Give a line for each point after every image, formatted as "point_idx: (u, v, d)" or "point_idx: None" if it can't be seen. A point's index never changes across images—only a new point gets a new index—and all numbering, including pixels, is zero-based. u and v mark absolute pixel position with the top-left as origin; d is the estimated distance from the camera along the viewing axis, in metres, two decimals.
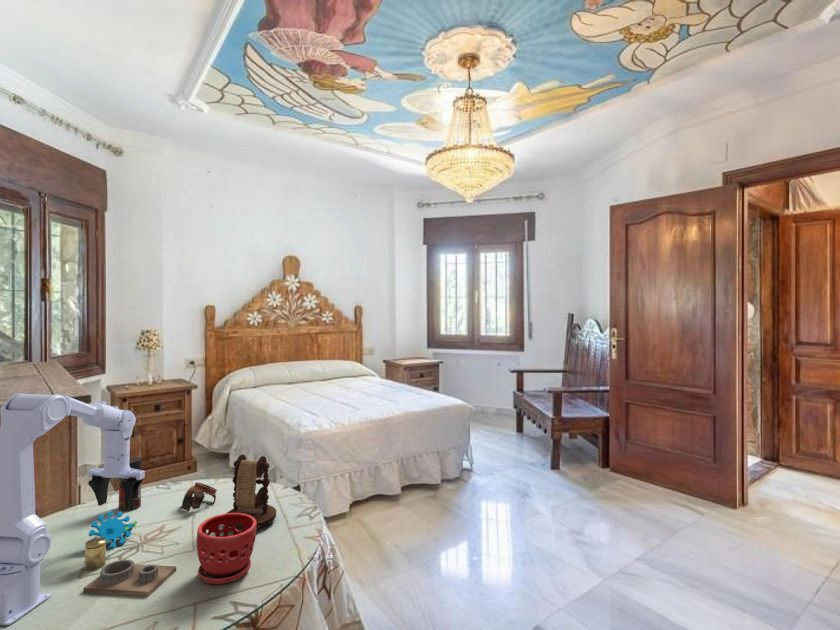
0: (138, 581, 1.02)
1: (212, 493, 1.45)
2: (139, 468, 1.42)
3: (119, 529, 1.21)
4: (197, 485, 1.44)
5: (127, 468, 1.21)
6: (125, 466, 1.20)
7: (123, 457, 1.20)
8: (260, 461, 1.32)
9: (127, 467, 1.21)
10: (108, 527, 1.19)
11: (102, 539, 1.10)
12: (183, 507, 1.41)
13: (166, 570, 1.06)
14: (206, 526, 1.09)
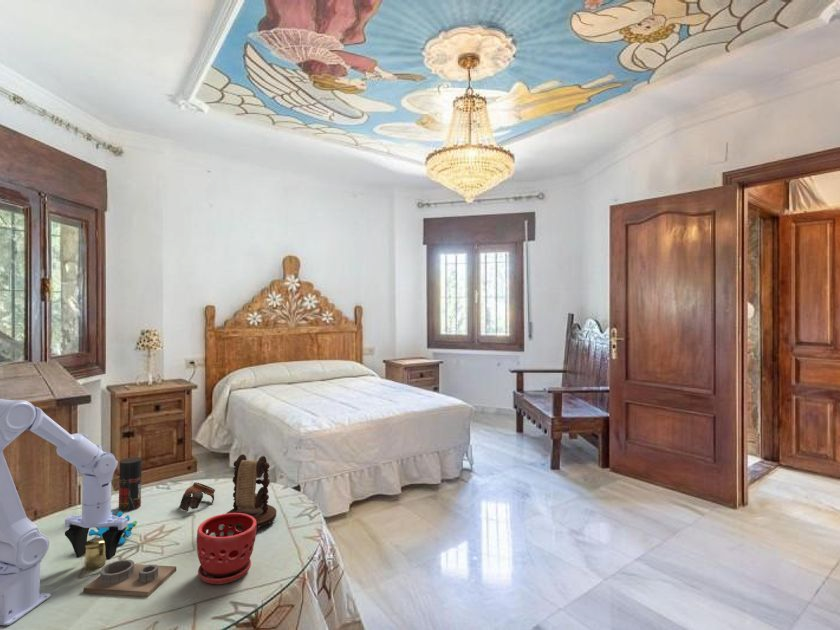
0: (138, 581, 1.02)
1: (210, 493, 1.45)
2: (139, 468, 1.42)
3: None
4: (195, 485, 1.44)
5: (108, 516, 1.09)
6: (106, 514, 1.09)
7: (103, 504, 1.08)
8: (260, 461, 1.32)
9: (108, 515, 1.09)
10: None
11: (102, 539, 1.10)
12: (181, 507, 1.41)
13: (166, 570, 1.06)
14: (206, 526, 1.09)
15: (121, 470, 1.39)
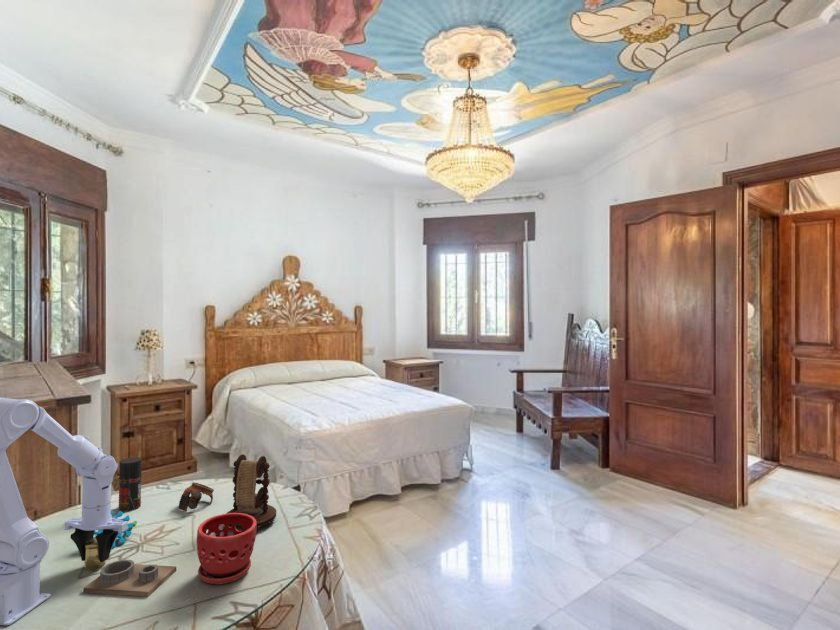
0: (138, 581, 1.02)
1: (209, 493, 1.45)
2: (139, 468, 1.42)
3: None
4: (194, 485, 1.44)
5: (108, 519, 1.09)
6: (106, 516, 1.09)
7: (103, 507, 1.08)
8: (260, 461, 1.32)
9: (108, 518, 1.09)
10: None
11: None
12: (180, 507, 1.41)
13: (166, 570, 1.06)
14: (206, 526, 1.09)
15: (121, 470, 1.39)
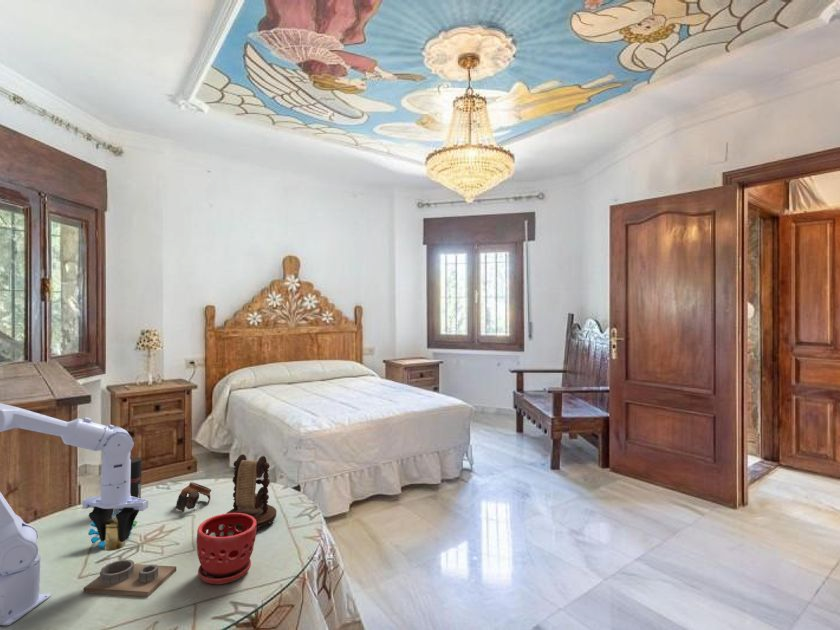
0: (138, 581, 1.02)
1: (207, 493, 1.45)
2: (139, 468, 1.42)
3: None
4: (191, 485, 1.44)
5: (128, 497, 1.05)
6: (126, 494, 1.04)
7: (123, 485, 1.03)
8: (260, 461, 1.32)
9: (128, 496, 1.05)
10: None
11: None
12: (177, 507, 1.41)
13: (166, 570, 1.06)
14: (206, 526, 1.09)
15: None
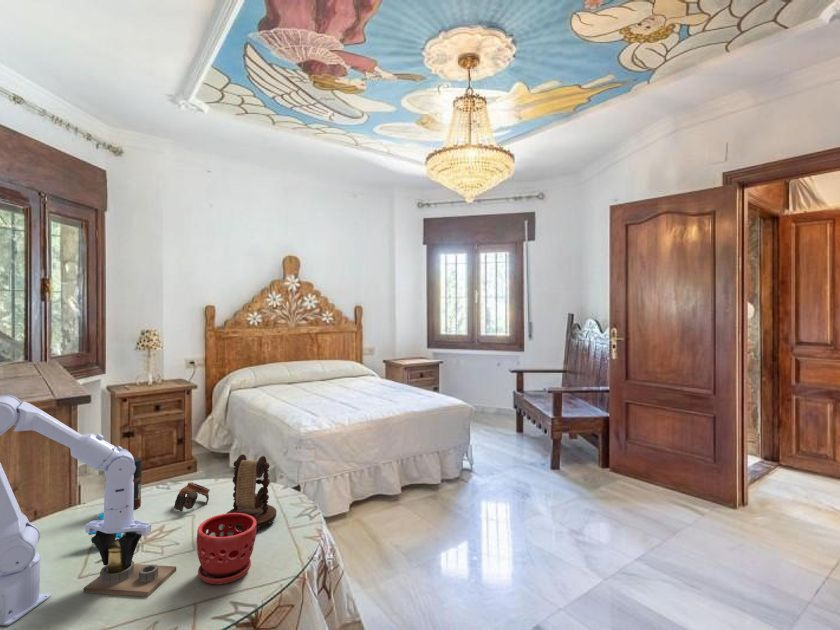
0: (138, 581, 1.02)
1: (205, 493, 1.45)
2: (139, 468, 1.42)
3: None
4: (190, 485, 1.44)
5: (131, 521, 1.04)
6: (129, 518, 1.03)
7: (126, 509, 1.02)
8: (260, 461, 1.32)
9: (131, 520, 1.04)
10: None
11: None
12: (176, 507, 1.41)
13: (166, 570, 1.06)
14: (206, 526, 1.09)
15: None
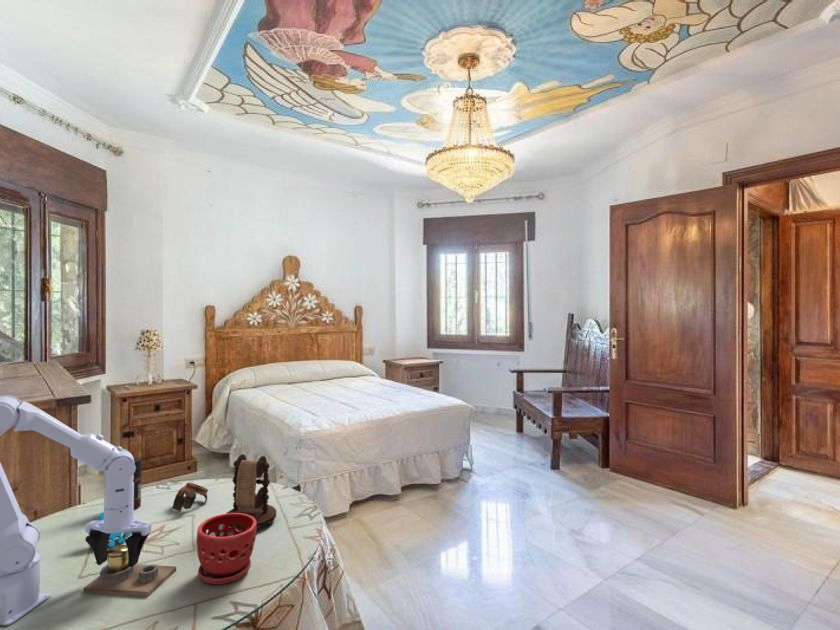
0: (138, 581, 1.02)
1: (204, 493, 1.45)
2: (139, 468, 1.42)
3: None
4: (188, 485, 1.44)
5: (131, 521, 1.04)
6: (129, 518, 1.03)
7: (126, 509, 1.02)
8: (260, 461, 1.32)
9: (131, 520, 1.04)
10: None
11: (125, 547, 1.05)
12: (174, 507, 1.41)
13: (166, 570, 1.06)
14: (206, 526, 1.09)
15: None
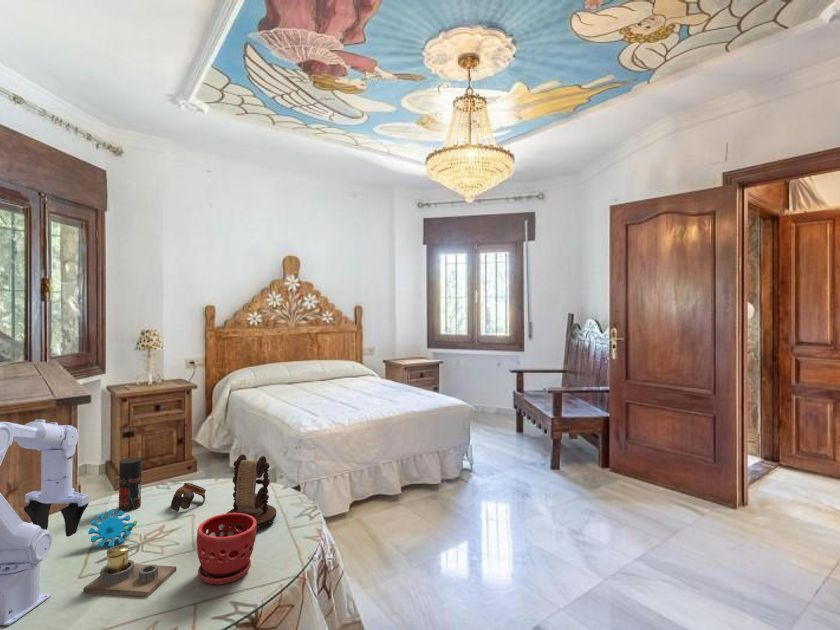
0: (138, 581, 1.02)
1: (201, 493, 1.45)
2: (139, 468, 1.42)
3: (119, 528, 1.21)
4: (186, 485, 1.44)
5: (69, 492, 1.06)
6: (66, 489, 1.05)
7: (63, 480, 1.04)
8: (260, 461, 1.32)
9: (69, 491, 1.06)
10: (108, 526, 1.20)
11: (124, 547, 1.05)
12: (172, 507, 1.41)
13: (166, 570, 1.06)
14: (206, 526, 1.09)
15: (121, 470, 1.39)
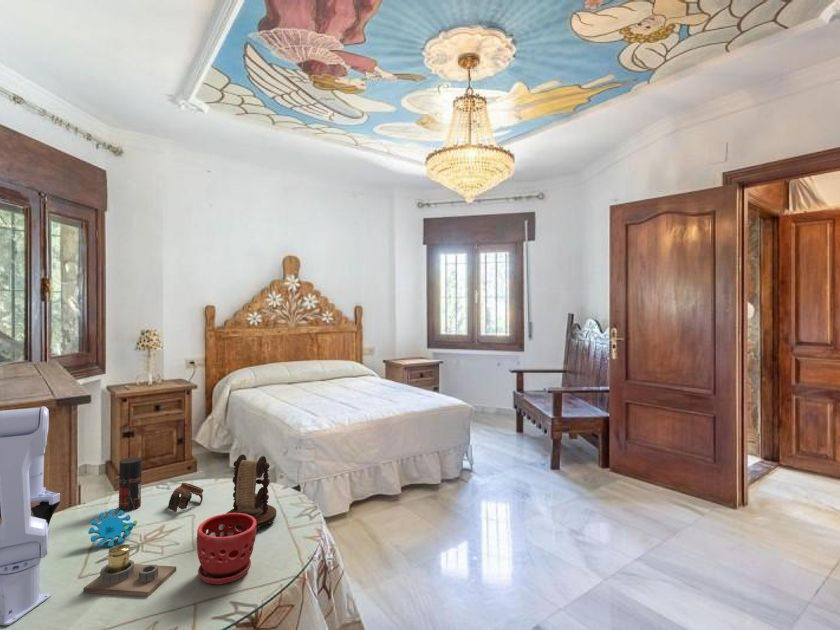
0: (138, 581, 1.02)
1: (199, 493, 1.45)
2: (139, 468, 1.42)
3: (118, 528, 1.21)
4: (184, 485, 1.43)
5: (40, 491, 1.06)
6: (37, 488, 1.06)
7: (34, 478, 1.05)
8: (260, 461, 1.32)
9: (40, 489, 1.06)
10: (108, 525, 1.20)
11: (126, 546, 1.05)
12: (170, 507, 1.40)
13: (166, 570, 1.06)
14: (206, 526, 1.09)
15: (121, 470, 1.39)
